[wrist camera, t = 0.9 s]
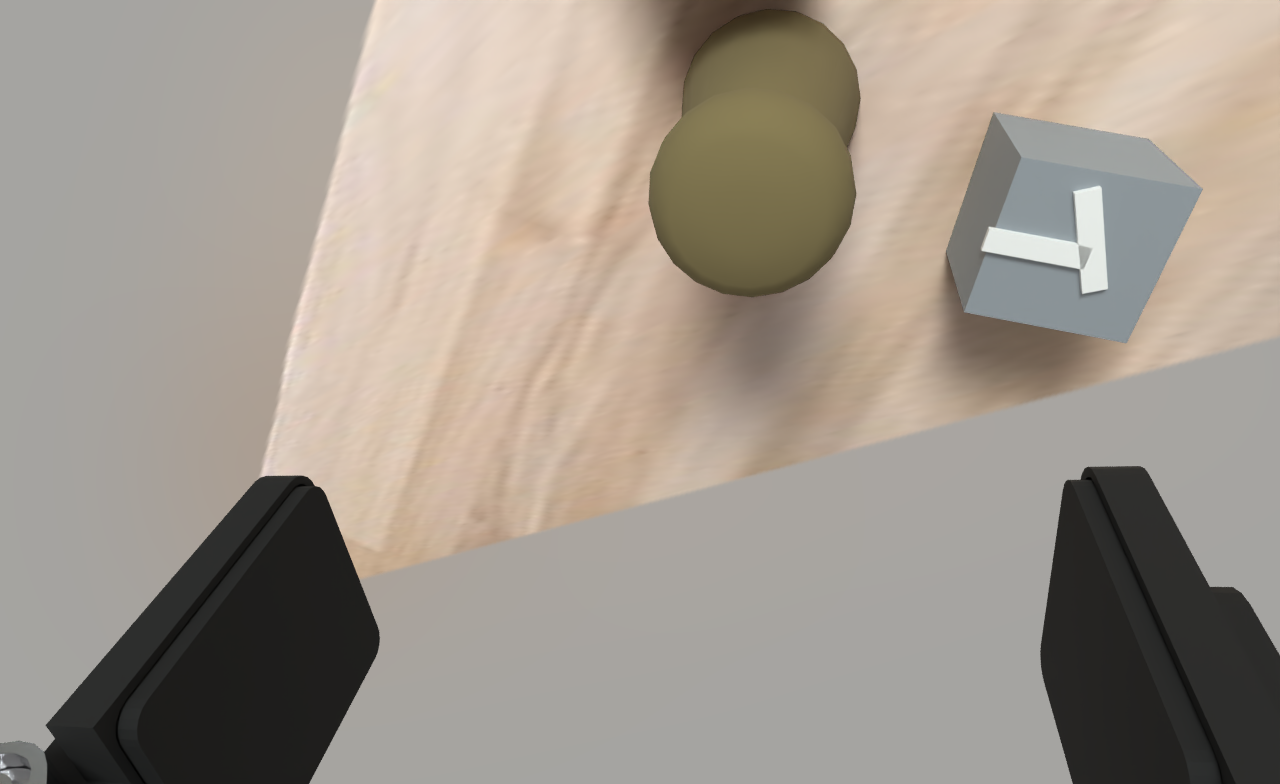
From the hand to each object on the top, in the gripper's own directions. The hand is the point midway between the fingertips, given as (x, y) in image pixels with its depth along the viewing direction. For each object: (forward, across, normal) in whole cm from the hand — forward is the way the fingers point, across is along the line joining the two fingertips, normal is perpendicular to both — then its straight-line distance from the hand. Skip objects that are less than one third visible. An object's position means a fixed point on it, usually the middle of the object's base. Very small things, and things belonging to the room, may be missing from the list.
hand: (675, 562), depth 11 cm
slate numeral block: (+23, -9, +4) cm, 25 cm away
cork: (+23, 0, 0) cm, 23 cm away
